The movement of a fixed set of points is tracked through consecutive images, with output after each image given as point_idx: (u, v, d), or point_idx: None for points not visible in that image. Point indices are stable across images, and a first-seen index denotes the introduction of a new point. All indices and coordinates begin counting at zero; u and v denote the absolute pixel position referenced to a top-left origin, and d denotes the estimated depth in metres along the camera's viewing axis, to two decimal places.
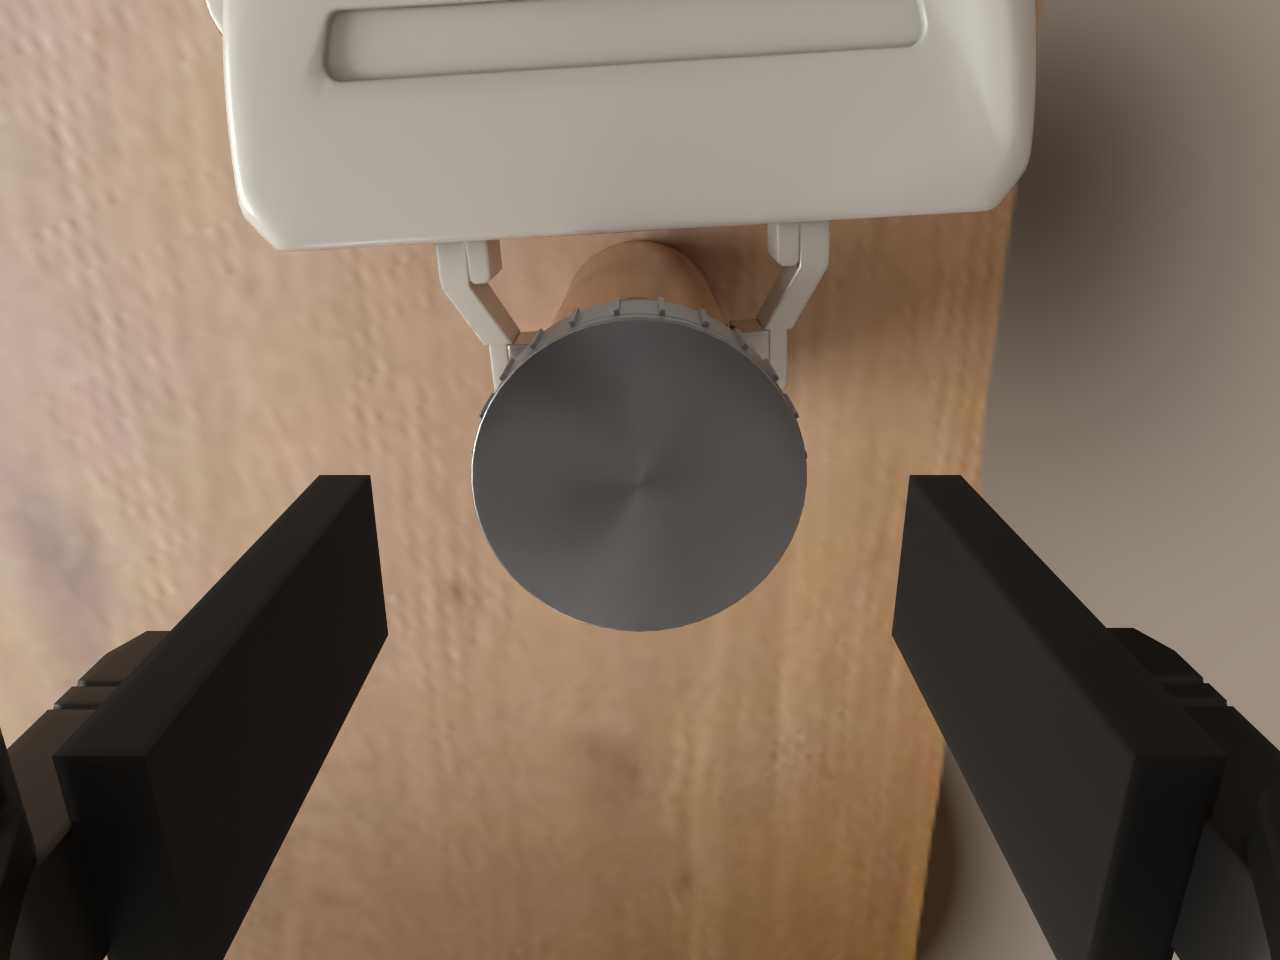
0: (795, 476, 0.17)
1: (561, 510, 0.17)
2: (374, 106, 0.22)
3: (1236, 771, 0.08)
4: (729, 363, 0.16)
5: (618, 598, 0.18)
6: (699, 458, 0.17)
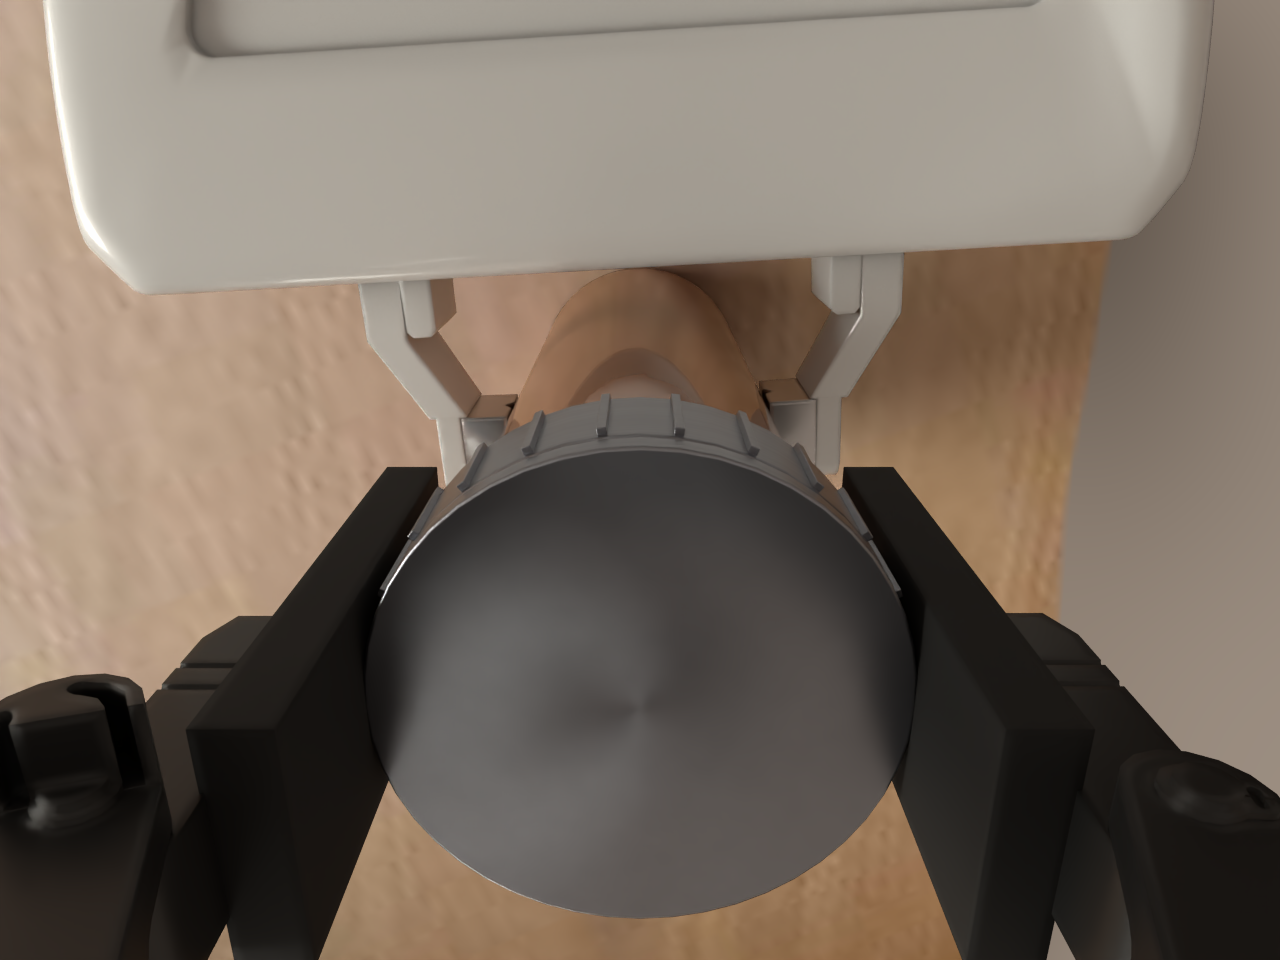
0: (898, 695, 0.10)
1: (511, 747, 0.10)
2: (262, 93, 0.15)
3: (1114, 745, 0.08)
4: (794, 520, 0.09)
5: (607, 872, 0.11)
6: (741, 669, 0.10)
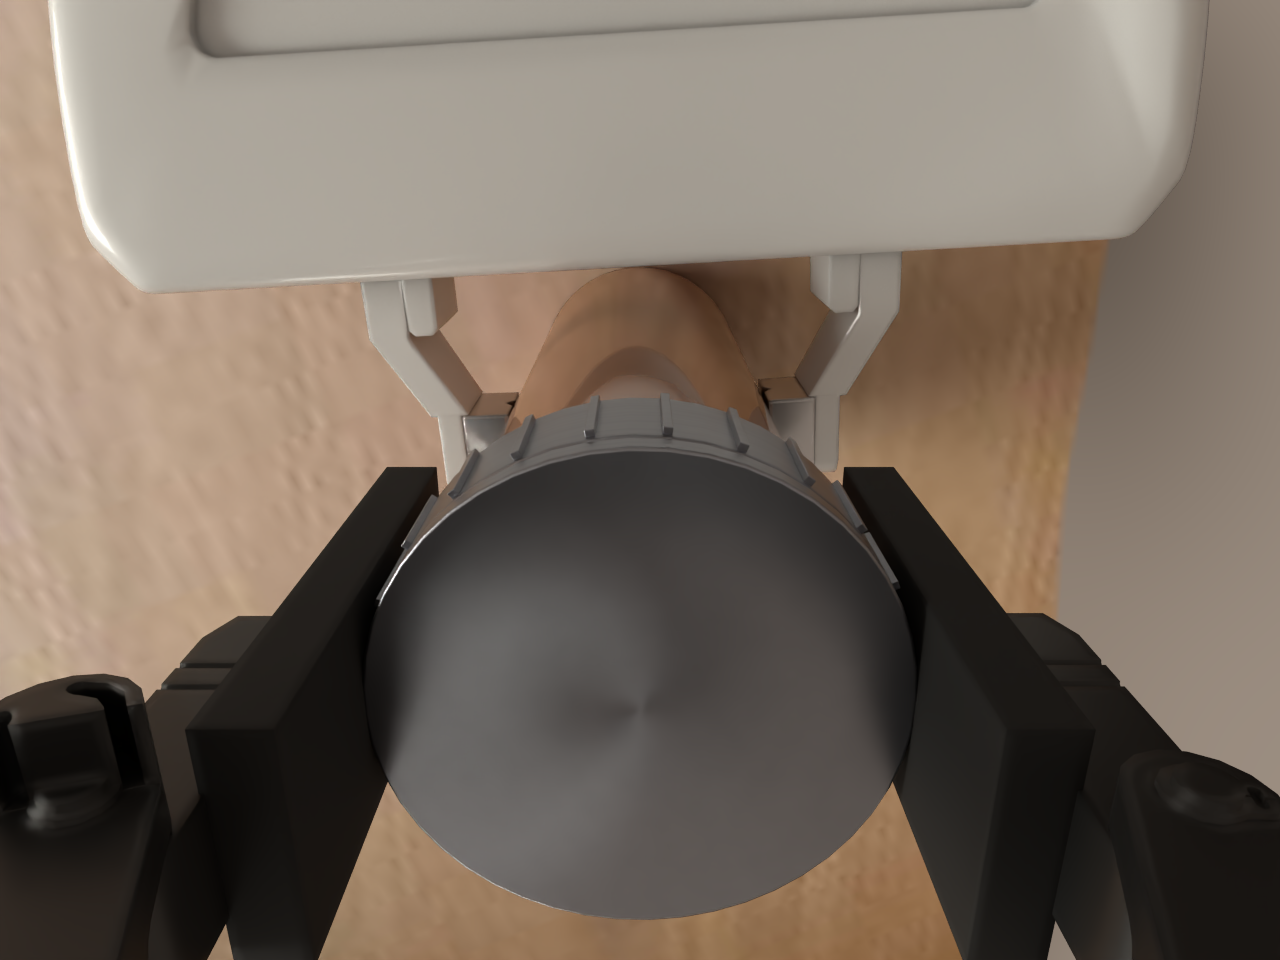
0: (476, 517, 0.09)
1: (745, 780, 0.10)
2: (265, 93, 0.16)
3: (1116, 746, 0.08)
4: (390, 699, 0.10)
5: (843, 638, 0.10)
6: (545, 658, 0.10)
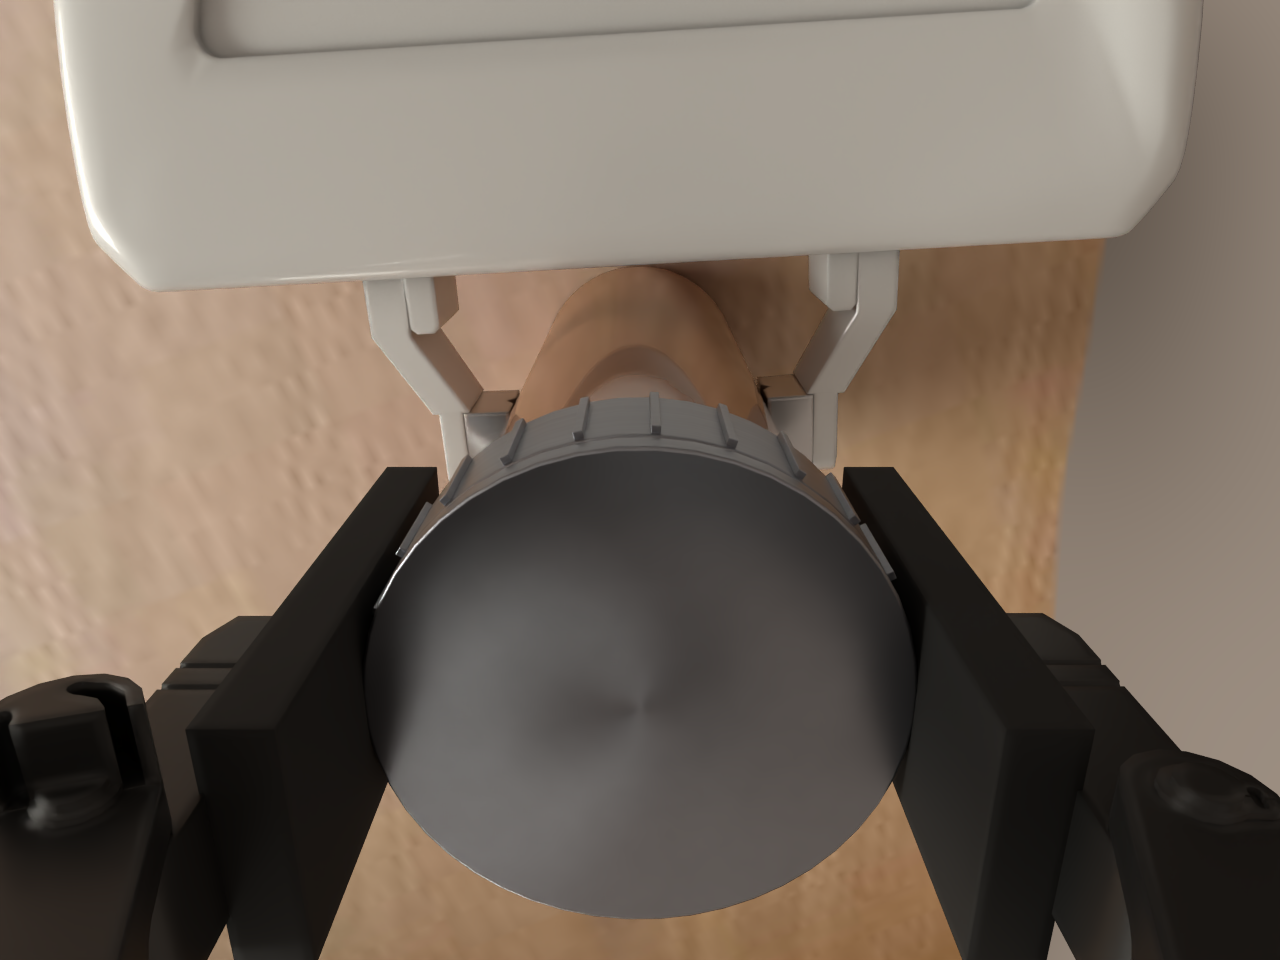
0: (551, 894, 0.11)
1: (655, 587, 0.10)
2: (269, 93, 0.16)
3: (1116, 745, 0.08)
4: (753, 877, 0.11)
5: (456, 601, 0.10)
6: (640, 799, 0.11)
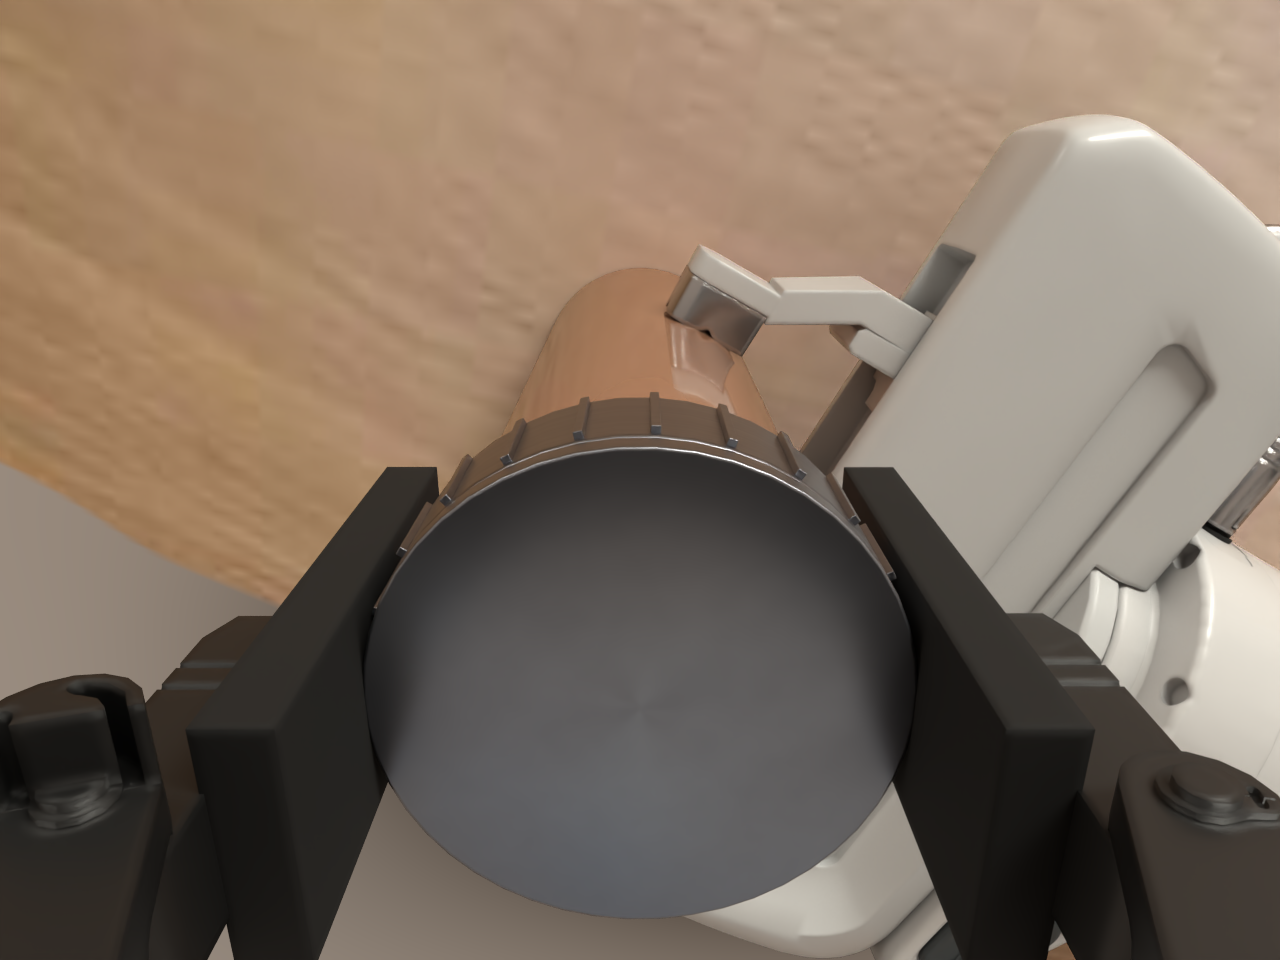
0: (551, 893, 0.11)
1: (655, 586, 0.10)
2: (1109, 371, 0.18)
3: (1116, 746, 0.08)
4: (753, 876, 0.11)
5: (457, 601, 0.10)
6: (640, 798, 0.11)
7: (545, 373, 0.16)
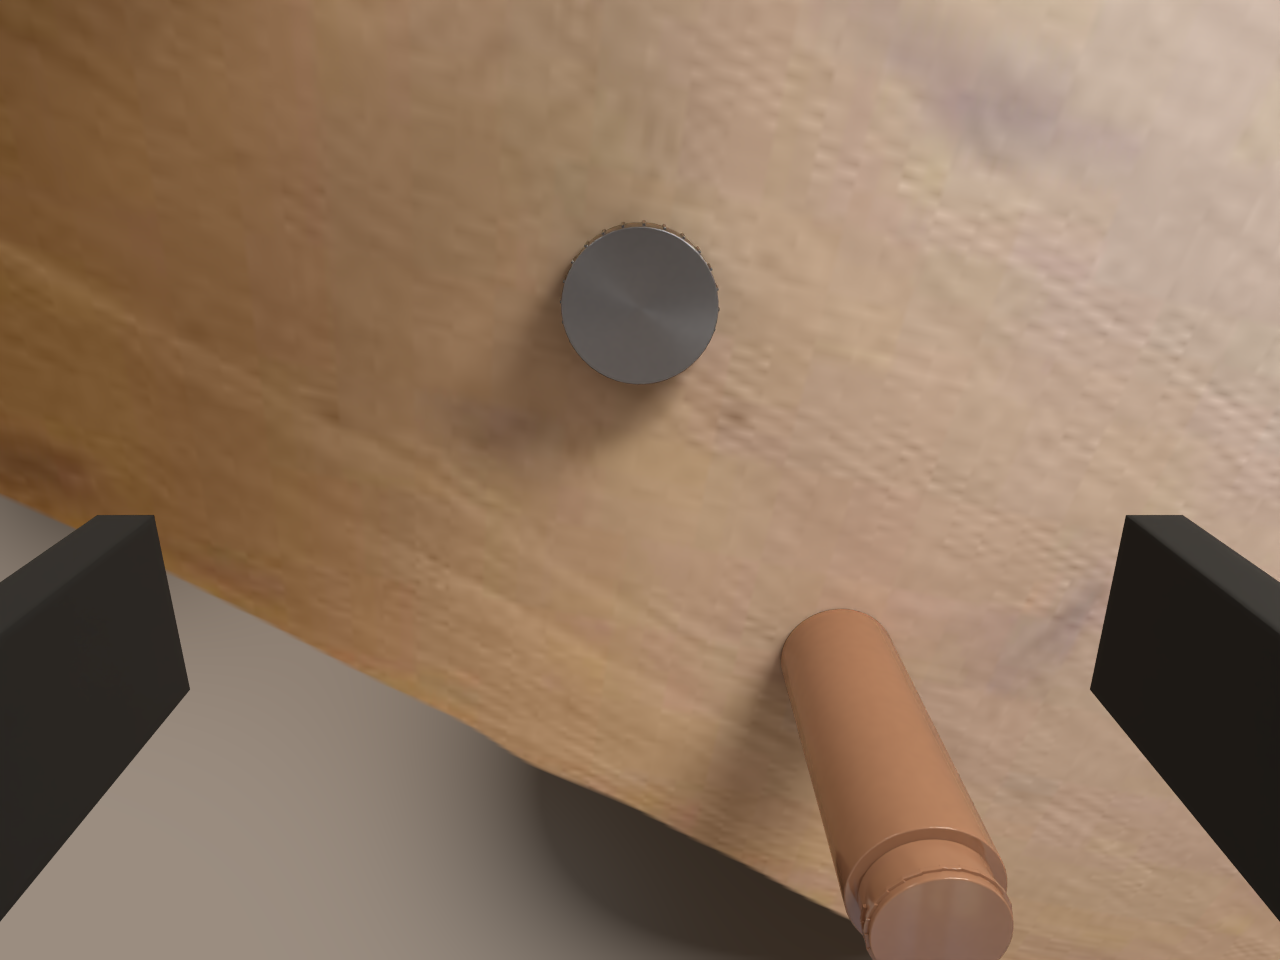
0: (613, 374, 0.37)
1: (644, 268, 0.35)
2: None
3: None
4: (674, 368, 0.37)
5: (589, 272, 0.35)
6: (639, 338, 0.36)
7: (849, 750, 0.34)
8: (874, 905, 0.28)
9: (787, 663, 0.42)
